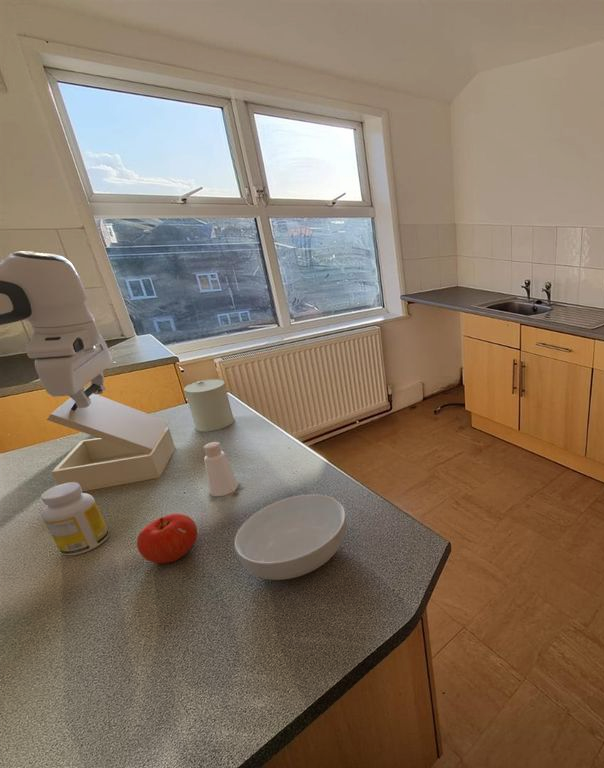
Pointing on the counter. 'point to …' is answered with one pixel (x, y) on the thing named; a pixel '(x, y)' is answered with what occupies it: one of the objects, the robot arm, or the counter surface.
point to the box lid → (111, 421)
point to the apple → (167, 538)
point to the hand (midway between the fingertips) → (92, 399)
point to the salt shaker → (218, 471)
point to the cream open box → (112, 463)
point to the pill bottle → (73, 519)
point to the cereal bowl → (291, 536)
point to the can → (209, 405)
